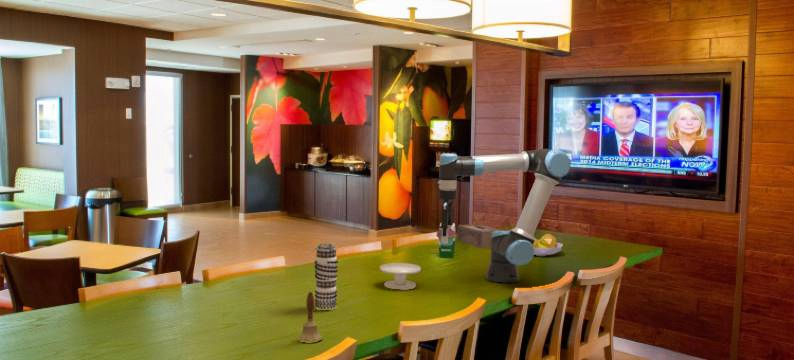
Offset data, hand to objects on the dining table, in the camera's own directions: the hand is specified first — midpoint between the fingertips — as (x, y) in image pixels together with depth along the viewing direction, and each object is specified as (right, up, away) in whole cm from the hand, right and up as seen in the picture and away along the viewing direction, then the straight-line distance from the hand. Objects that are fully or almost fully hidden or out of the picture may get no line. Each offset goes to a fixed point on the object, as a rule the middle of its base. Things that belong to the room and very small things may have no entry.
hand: (446, 241), depth 287 cm
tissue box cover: (+28, -12, +113) cm, 117 cm away
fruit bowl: (+58, -15, +87) cm, 105 cm away
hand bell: (-50, -27, -66) cm, 87 cm away
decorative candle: (-49, -23, -30) cm, 62 cm away
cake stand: (-20, -20, +6) cm, 29 cm away
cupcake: (0, -2, 0) cm, 2 cm away
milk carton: (+6, -15, +72) cm, 74 cm away
